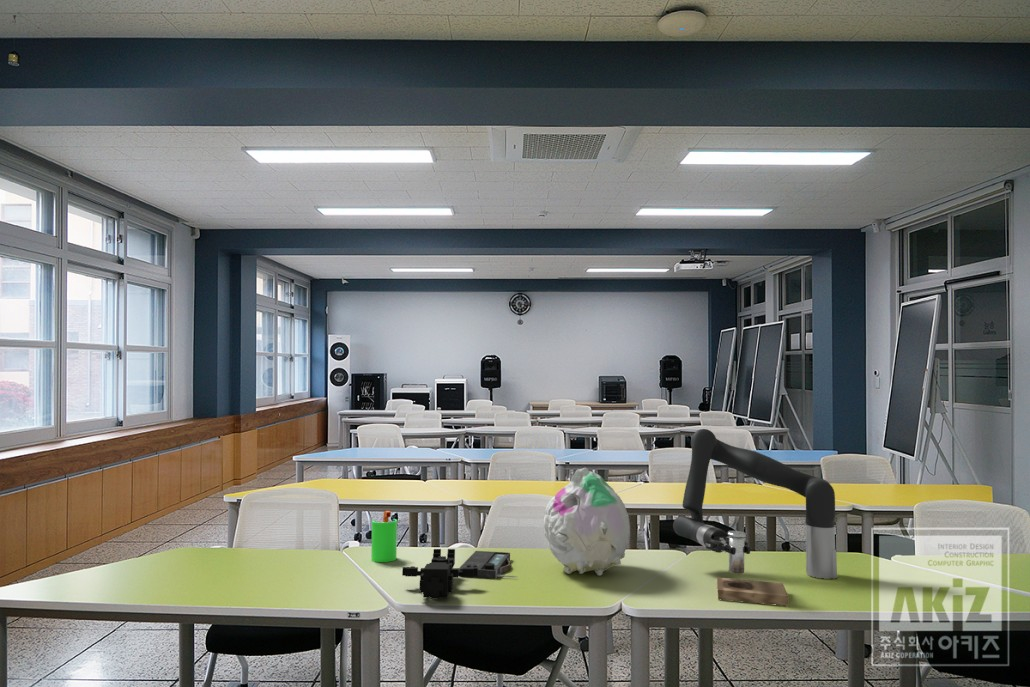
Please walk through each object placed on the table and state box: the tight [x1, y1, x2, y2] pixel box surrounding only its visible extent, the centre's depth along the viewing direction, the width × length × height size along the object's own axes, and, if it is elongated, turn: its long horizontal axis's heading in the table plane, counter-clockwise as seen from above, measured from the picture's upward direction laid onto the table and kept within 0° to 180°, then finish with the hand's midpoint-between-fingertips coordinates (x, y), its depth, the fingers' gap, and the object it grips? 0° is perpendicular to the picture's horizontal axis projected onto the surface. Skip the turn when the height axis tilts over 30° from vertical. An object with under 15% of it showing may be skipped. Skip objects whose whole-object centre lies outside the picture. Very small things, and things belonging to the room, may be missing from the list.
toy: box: [401, 548, 478, 599], centre depth 210 cm, size 24×10×30 cm
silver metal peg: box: [727, 530, 747, 574], centre depth 208 cm, size 5×5×12 cm
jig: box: [716, 577, 789, 607], centre depth 206 cm, size 20×14×3 cm
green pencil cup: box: [370, 510, 398, 563], centre depth 246 cm, size 9×8×18 cm
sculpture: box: [543, 467, 631, 577], centre depth 234 cm, size 33×36×30 cm
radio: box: [458, 550, 518, 580], centre depth 235 cm, size 25×4×20 cm
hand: (741, 550), depth 206 cm, fingers closed on silver metal peg, 4 cm apart
